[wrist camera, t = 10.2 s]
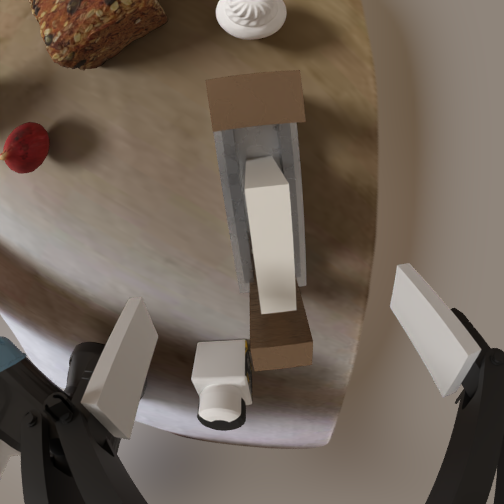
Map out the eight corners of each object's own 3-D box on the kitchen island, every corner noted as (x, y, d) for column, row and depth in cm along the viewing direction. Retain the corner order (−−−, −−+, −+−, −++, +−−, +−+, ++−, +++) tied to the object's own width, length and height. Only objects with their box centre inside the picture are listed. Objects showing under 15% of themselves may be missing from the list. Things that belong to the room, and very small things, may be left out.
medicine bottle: (251, 368, 41) (253, 434, 30) (207, 370, 41) (200, 434, 31) (246, 337, 38) (246, 410, 27) (197, 340, 38) (185, 410, 27)
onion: (44, 110, 22) (0, 117, 15) (69, 137, 24) (24, 149, 17) (25, 147, 24) (-17, 162, 17) (47, 174, 26) (6, 193, 19)
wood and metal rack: (305, 282, 34) (328, 361, 22) (240, 289, 34) (237, 372, 23) (291, 90, 23) (326, 70, 12) (209, 99, 24) (178, 85, 12)
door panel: (279, 238, 30) (296, 310, 19) (256, 241, 30) (261, 314, 19) (271, 155, 26) (288, 184, 15) (246, 158, 26) (244, 188, 15)
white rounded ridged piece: (271, 55, 22) (279, 36, 16) (211, 41, 21) (200, 19, 15) (289, 8, 19) (301, -20, 13) (230, -6, 18) (225, -36, 12)
